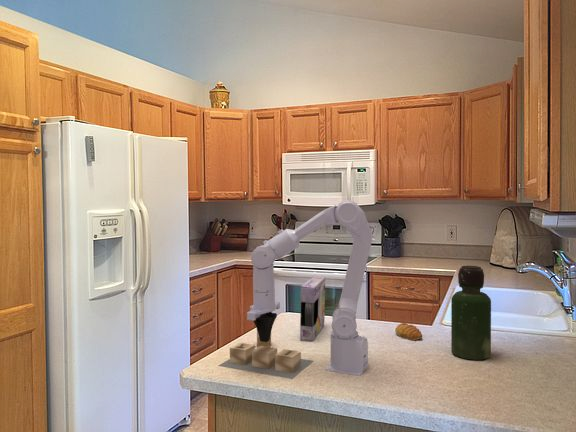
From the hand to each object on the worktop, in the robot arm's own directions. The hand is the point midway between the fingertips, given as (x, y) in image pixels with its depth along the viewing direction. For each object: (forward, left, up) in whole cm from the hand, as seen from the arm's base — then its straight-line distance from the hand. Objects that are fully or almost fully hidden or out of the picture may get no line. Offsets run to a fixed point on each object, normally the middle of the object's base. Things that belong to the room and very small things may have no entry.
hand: (264, 341), depth 124 cm
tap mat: (0, -1, -7) cm, 7 cm away
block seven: (+7, 0, -6) cm, 9 cm away
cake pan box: (0, -33, -7) cm, 34 cm away
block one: (-7, 0, -6) cm, 9 cm away
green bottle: (-49, -32, -7) cm, 59 cm away
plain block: (0, 0, -6) cm, 6 cm away
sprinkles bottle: (+8, -14, -7) cm, 18 cm away
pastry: (-29, -43, -7) cm, 53 cm away
